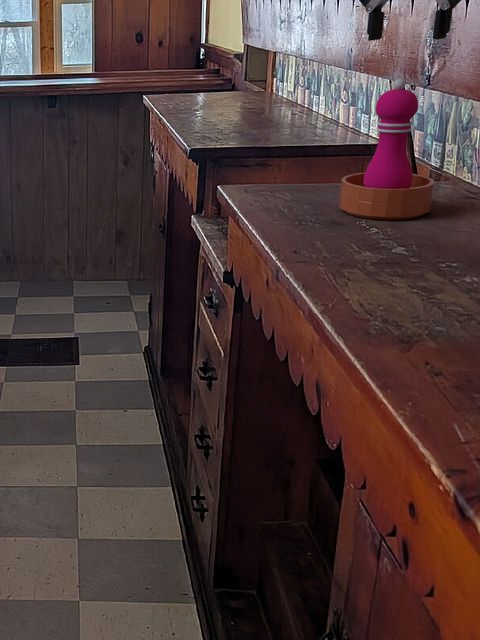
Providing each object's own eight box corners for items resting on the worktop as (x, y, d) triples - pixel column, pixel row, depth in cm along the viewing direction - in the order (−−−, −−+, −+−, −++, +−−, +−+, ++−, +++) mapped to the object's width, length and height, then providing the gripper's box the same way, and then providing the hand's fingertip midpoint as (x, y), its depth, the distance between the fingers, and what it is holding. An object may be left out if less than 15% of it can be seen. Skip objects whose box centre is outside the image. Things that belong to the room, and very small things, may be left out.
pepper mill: (386, 200, 144) (402, 75, 136) (419, 209, 138) (437, 78, 130) (350, 205, 142) (364, 78, 134) (381, 214, 136) (397, 82, 128)
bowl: (444, 208, 140) (449, 177, 138) (406, 225, 131) (410, 193, 129) (363, 197, 149) (366, 168, 147) (323, 213, 141) (326, 182, 139)
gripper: (495, -95, 119) (477, 36, 126) (374, -81, 131) (362, 38, 138) (474, -97, 115) (455, 40, 121) (349, -82, 127) (339, 42, 133)
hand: (406, 39), depth 130 cm, fingers open, 9 cm apart
